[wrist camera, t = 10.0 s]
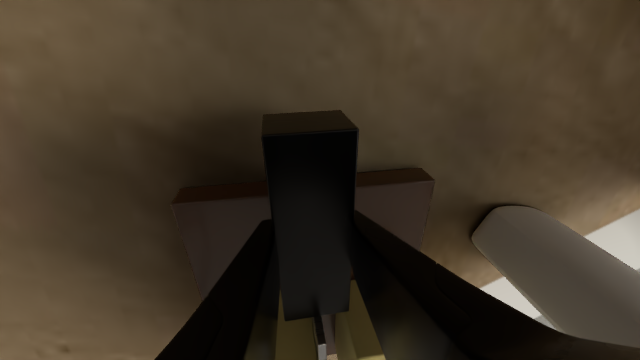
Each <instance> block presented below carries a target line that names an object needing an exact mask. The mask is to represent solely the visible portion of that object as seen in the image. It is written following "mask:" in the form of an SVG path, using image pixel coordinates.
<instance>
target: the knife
mask: <svg viewBox="0 0 640 360" xmlns="http://www.w3.org/2000/svg"><path fill="white" fill-rule="evenodd" d="M358 137H359V129H358V128H357V127H356V126H355V125H354V124H353V123H352V122H351V121H350V120H349V118H348V117H347V116H346V115H345V114H344V113H343V112H342V111H341V110H332V111H315V112H298V113H280V114H264V115H263V122H262V133H261V140H262V148H263V156H264V164H265V171H266V179H267V187H268V195H269V203H270V211H271V219H272V227H273V232H274V233H275V239H276V247H277V256H278V264H279V275H280V290H281V298H282V306H283V313H284V320H285V321H292V320H298V319H304V318H311V317H312V324H313V331H314V338H315V345H316V352H317V358H318V360H327V351H326V338H325V333H324V327H323V322H322V316H323V315H329V314H335V313H341V312H347V311H349V303H350V284H351V263H350V251H351V232H352V223H353V222H354V211H355V192H356V174H357V155H358Z"/></svg>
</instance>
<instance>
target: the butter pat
mask: <svg viewBox="0 0 640 360" xmlns="http://www.w3.org/2000/svg"><path fill="white" fill-rule="evenodd" d="M275 360H318V358H317V352H316V345H315V338H314V331H313V324H312V317H311V318H304V319H298V320H292V321H285V320H284V313H283V306H282V298H281V290H280V296H279V311H278V325H277V339H276V354H275Z"/></svg>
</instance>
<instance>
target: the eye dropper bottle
mask: <svg viewBox="0 0 640 360" xmlns="http://www.w3.org/2000/svg"><path fill="white" fill-rule="evenodd" d="M472 242H473V244H474V245H475V246H476V248H477V249H478V250H479V251H480V252H481V253H482V254H483V255H484V256H485V257H486V258H487V259H488V260H489V261H490V262H491V263H492V264H493V265H494V266H495V267H496V268H497V269H498V270H499V271H500V272H501V273H502V274H503V275H504V276H505V277H506V279H508V281H509V282H510V283H511V284H512V285H513V286H514V287H515V288H516V289H517V290H518V291H519V292H520V293H521V294H522V295H523V296H524V297H525V298H526V299H527V300H528V301H529V302H530V303H531V304H532V305H533V306H534V307H535V308H536V309H537V310H538V311H539V312H540V313H541V314H542V315H543V316H544V317H545V318H546V319H547V320H548V321H549V322H550V323H551V324H552V325H553V326H554V328H555V329H556V330H557V331H559V332H562V333H565V334H568V335H571V336H575V337H579V338H583V339H589V340H595V341H601V342H607V343H613V344H619V345H625V346H631V347H637V348H640V273H639V272H638V271H636V270H634V269H633V268H631V267H630V266H628V265H627V264H625V263H623V262H622V261H620V260H619V259H617V258H616V257H614V256H612V255H611V254H609V253H608V252H606V251H605V250H603V249H601V248H600V247H598V246H597V245H595V244H594V243H592V242H591V241H589V240H587V239H586V238H584V237H583V236H581V235H580V234H578V233H577V232H575V231H573V230H572V229H570V228H569V227H567V226H566V225H564V224H562V223H561V222H559V221H558V220H556V219H555V218H553V217H551V216H550V215H548V214H546V213H544V212H542V211H540V210H538V209H535V208H531V207H525V206H503V207H498V208H495V209H493V210H492V211H491V212H490V213H489V214H488V215H487V216H486V218H485V219H484V220H483V221H482V223H481V224H480V225H479V226H478V228H477V229H476V230H475V232H474V233H473V235H472Z"/></svg>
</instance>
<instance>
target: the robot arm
mask: <svg viewBox="0 0 640 360" xmlns="http://www.w3.org/2000/svg"><path fill="white" fill-rule="evenodd" d="M350 263H351V267H352V270H353V274H354V277H355V280H356V283H357V286H358V288H359V291H360V294H361V296H362V299H363V302H364V304H365V307H366V309H367V312H368V315H369V317H370V320H371V322H372V325H373V328H374V330H375V333H376V336H377V338H378V341H379V343H380V346H381V349H382V351H383V354H384V357H385V359H386V360H640V348H637V347H631V346H625V345H619V344H613V343H607V342H601V341H595V340H589V339H583V338H579V337H575V336H571V335H568V334H565V333H562V332H559V331H557V330H554V329H552V328H550V327H548V326H546V325H544V324H542V323H540V322H538V321H536V320H534V319H532V318H531V317H529V316H527V315H525V314H523V313H521V312H520V311H518V310H516V309H514V308H513V307H511V306H509V305H507V304H505V303H504V302H502V301H500V300H498V299H496V298H495V297H493V296H491V295H489V294H487V293H485V292H484V291H482V290H480V289H479V288H477V287H475V286H473V285H472V284H470V283H468V282H467V281H465V280H463V279H462V278H460V277H459V276H457V275H455V274H454V273H452V272H451V271H449V270H447V269H446V268H444V267H443V266H441V265H440V264H438V263H437V264H436V262H435V261H434V260H432V259H431V258H429V257H427V256H426V255H424V254H423V253H421V252H420V251H418V250H417V249H415V248H414V247H412V246H411V245H409V244H408V243H406V242H405V241H403V240H402V239H400V238H399V237H397V236H395V235H394V234H392V233H391V232H389V231H388V230H386V229H385V228H383V227H382V226H380V225H379V224H377V223H376V222H374V221H373V220H371V219H370V218H368V217H367V216H365V215H363V214H362V213H360V212H359V211H357V210H355V211H354V222H353V223H352V232H351V251H350ZM279 296H280V275H279V264H278V256H277V247H276V239H275V233H274V232H273V227H272V219H267V220H262V221H261V222H260V224H259V225H258V226H257V228H256V229H255V230H254V232H253V233H252V234H251V236H250V237H249V239H248V240H247V241H246V243H245V244H244V245H243V247H242V248H241V250H240V251H239V252H238V254H237V255H236V256H235V258H234V259H233V260H232V262H231V263H230V265H229V266H228V267H227V269H226V270H225V271H224V273H223V274H222V275H221V277H220V278H219V280H218V281H217V282H216V284H215V285H214V286H213V288H212V289H211V291H210V292H209V293H208V296H206V297H205V299H204V300H203V301H202V303H201V304H200V305H199V307H198V308H197V309H196V311H195V312H194V313H193V315H192V316H191V317H190V318H189V320H188V321H187V322H186V324H185V325H184V326H183V327H182V328H181V330H180V331H179V332H178V333H177V334H176V335H175V337H174V338H173V339H172V340H171V341H170V343H169V344H168V345H167V346H166V347H165V348H164V349H163V351H162V352H161V353H160V354H159V355H158V356H157V357H156V358H155V360H275V354H276V339H277V325H278V311H279Z"/></svg>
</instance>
